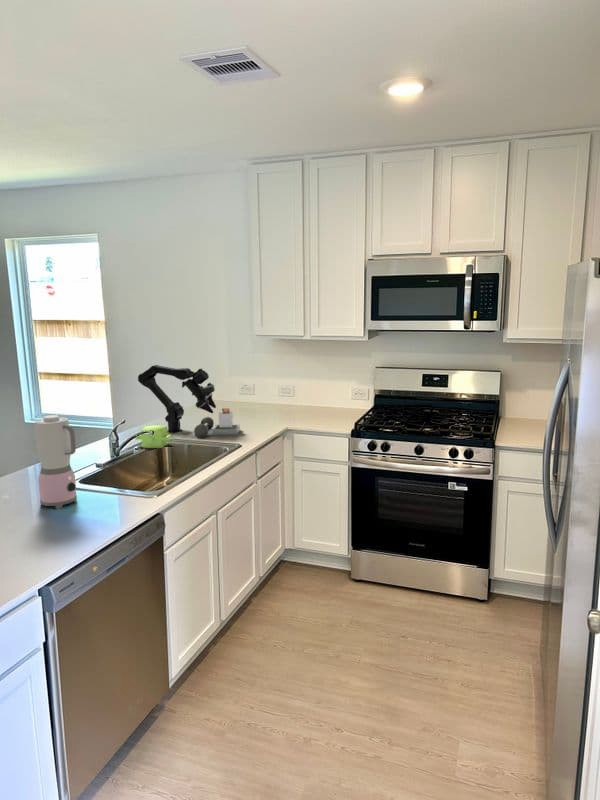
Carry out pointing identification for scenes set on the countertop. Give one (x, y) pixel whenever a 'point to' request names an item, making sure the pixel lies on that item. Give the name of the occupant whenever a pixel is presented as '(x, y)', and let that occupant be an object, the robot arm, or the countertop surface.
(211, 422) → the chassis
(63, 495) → the blender
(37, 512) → the countertop surface
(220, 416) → the block
